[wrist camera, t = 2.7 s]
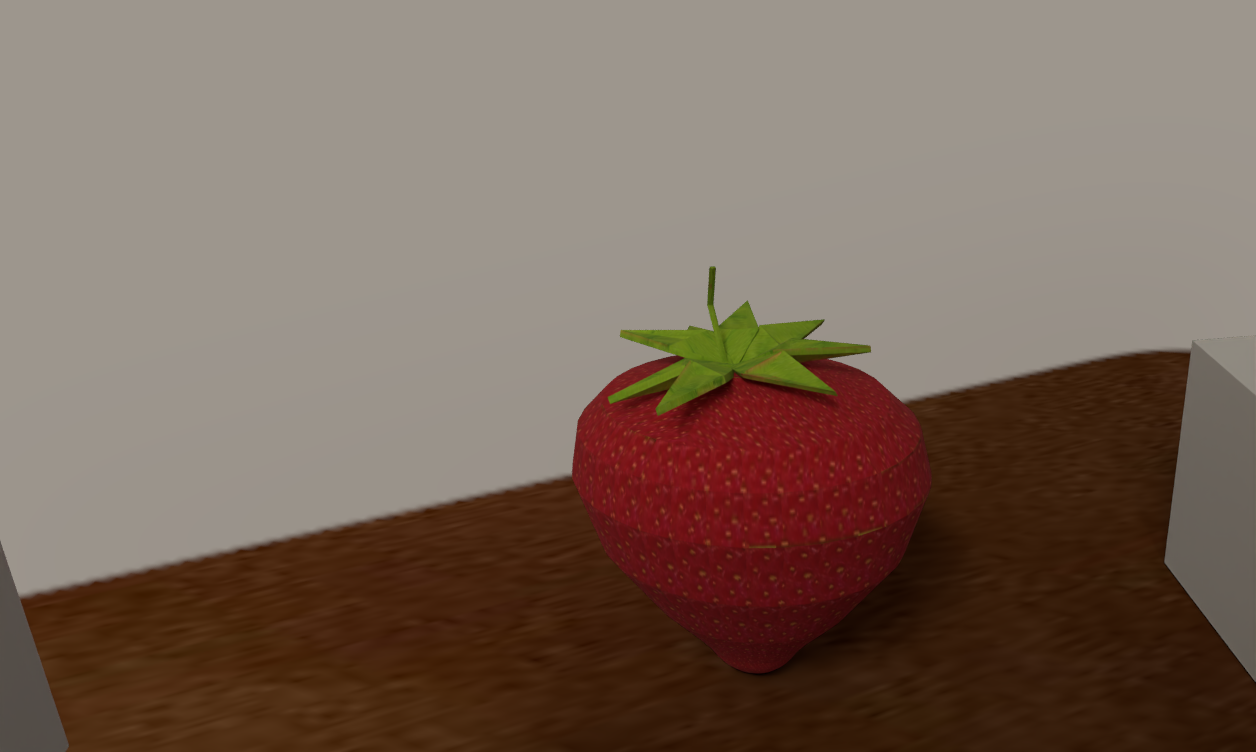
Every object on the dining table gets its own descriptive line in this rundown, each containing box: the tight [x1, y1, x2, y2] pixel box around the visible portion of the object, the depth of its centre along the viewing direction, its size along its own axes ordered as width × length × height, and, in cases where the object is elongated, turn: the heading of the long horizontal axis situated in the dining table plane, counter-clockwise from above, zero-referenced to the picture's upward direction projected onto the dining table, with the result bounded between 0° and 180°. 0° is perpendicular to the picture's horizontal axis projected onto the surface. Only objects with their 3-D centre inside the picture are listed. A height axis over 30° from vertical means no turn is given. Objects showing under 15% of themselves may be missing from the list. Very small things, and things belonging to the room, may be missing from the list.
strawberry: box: [572, 267, 931, 674], centre depth 25 cm, size 6×8×10 cm
